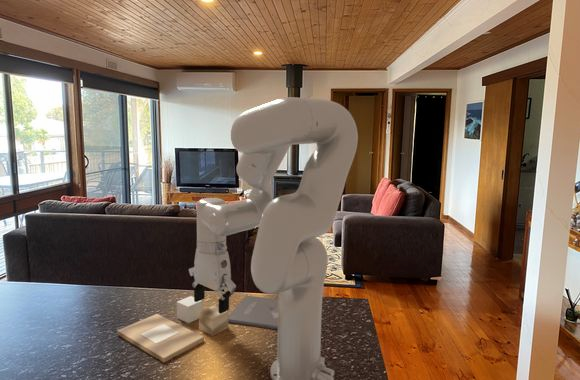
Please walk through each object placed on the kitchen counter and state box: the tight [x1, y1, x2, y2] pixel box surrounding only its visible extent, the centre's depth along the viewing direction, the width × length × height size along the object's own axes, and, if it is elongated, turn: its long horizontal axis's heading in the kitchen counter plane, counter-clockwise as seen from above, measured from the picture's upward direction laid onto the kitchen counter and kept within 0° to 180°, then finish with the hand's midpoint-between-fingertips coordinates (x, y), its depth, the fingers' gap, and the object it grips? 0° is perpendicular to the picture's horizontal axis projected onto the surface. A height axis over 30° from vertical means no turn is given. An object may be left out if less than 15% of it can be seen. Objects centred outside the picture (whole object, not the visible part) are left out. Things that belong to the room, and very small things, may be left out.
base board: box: [116, 313, 205, 364], centre depth 104 cm, size 20×12×1 cm, turn 53°
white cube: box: [176, 295, 203, 324], centre depth 115 cm, size 5×5×5 cm
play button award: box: [228, 294, 278, 330], centre depth 118 cm, size 16×2×20 cm
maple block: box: [198, 304, 229, 337], centre depth 109 cm, size 6×6×5 cm
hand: (211, 305), depth 109 cm, fingers open, 9 cm apart
